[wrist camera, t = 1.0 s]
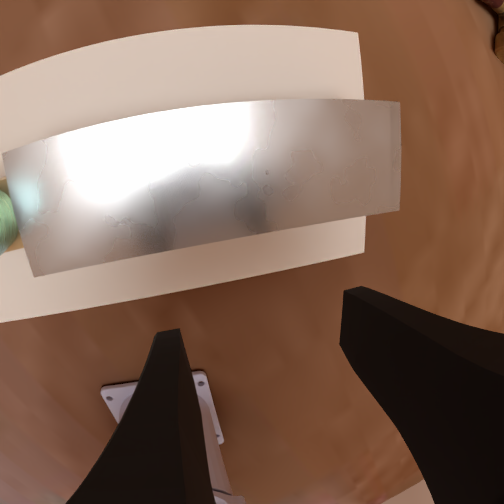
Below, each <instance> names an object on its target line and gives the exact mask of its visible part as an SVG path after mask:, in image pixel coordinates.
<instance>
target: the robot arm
mask: <svg viewBox="0 0 504 504" xmlns="http://www.w3.org/2000/svg"><path fill="white" fill-rule="evenodd" d="M339 344H340V346H341V348H342V350H343V352H344V354H345V356H346V358H347V359H348V361H349V363H350V365H351V366H352V368H353V370H354V371H355V373H356V374H357V375H358V377H359V378H360V379H361V381H362V382H363V383H364V385H365V386H366V387H367V389H368V390H369V391H370V393H371V394H372V395H373V397H374V398H375V399H376V400H377V402H378V403H379V404H380V406H381V407H382V408H383V410H384V411H385V412H386V414H387V415H388V416H389V418H390V419H391V420H392V422H393V423H394V425H395V426H396V428H397V429H398V431H399V432H400V434H401V436H402V437H403V439H404V441H405V443H406V444H407V446H408V448H409V450H410V452H411V453H412V455H413V457H414V459H415V461H416V463H417V465H418V467H419V469H420V471H421V473H422V475H423V477H424V480H425V481H426V484H427V486H428V489H429V491H430V493H431V495H432V498H433V501H434V503H435V504H504V334H502V333H497V332H493V331H488V330H484V329H480V328H476V327H473V326H469V325H465V324H462V323H459V322H456V321H453V320H450V319H447V318H444V317H441V316H438V315H436V314H433V313H430V312H428V311H425V310H423V309H420V308H417V307H415V306H412V305H410V304H407V303H405V302H403V301H400V300H398V299H395V298H393V297H390V296H388V295H385V294H383V293H380V292H377V291H375V290H372V289H369V288H366V287H363V286H360V287H356V288H352V289H348V290H345V291H344V294H343V308H342V321H341V333H340V343H339ZM200 381H203V382H201V383H199V382H200ZM101 395H102V397H103V399H104V401H105V402H106V404H107V406H108V408H109V409H110V411H111V413H112V414H113V416H114V418H115V419H116V421H117V423H118V426H117V428H116V430H115V432H114V433H113V435H112V437H111V439H110V440H109V442H108V444H107V446H106V447H105V449H104V451H103V452H102V454H101V455H100V457H99V458H98V460H97V462H96V463H95V465H94V466H93V468H92V469H91V471H90V472H89V474H88V475H87V477H86V478H85V479H84V481H83V482H82V484H81V485H80V486H79V488H78V489H77V490H76V491H75V493H74V494H73V495H72V496H71V498H70V499H69V500H68V501H67V502H66V504H246V502H245V499H244V496H233V493H232V490H231V487H230V483H229V480H228V476H227V473H226V469H225V466H224V462H223V458H222V455H221V451H220V447H219V444H222V443H223V442H224V438H223V435H222V431H221V428H220V424H219V421H218V417H217V414H216V410H215V407H214V403H213V399H212V396H211V392H210V388H209V384H208V380H207V377H206V374H205V372H203V371H196V372H191V368H190V365H189V361H188V358H187V354H186V351H185V347H184V343H183V340H182V336H181V332H180V328H179V329H173V330H168V331H163V332H157V334H156V335H155V336H154V339H153V343H152V346H151V349H150V352H149V355H148V358H147V361H146V363H145V366H144V369H143V371H142V374H141V376H140V378H139V381H138V382H133V383H126V384H119V385H111V386H104V387H102V388H101ZM108 396H110V397H108Z"/></svg>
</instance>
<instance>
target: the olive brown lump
mask: <svg viewBox="0 0 504 504" xmlns="http://www.w3.org/2000/svg"><path fill="white" fill-rule="evenodd" d="M481 1H482V2H484V3H485V4H487V5H488V6H490V7H491V8H492V9H493V10H494V11H495V12H496V13H497V14H498V15H499V29H498V32H499V33H498V34H497V35H496V37H495V54H496V56H497V57H498V58H499V59H500V60H501V62H502V63H503V64H504V0H481Z"/></svg>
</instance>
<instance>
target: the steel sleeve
mask: <svg viewBox="0 0 504 504" xmlns="http://www.w3.org/2000/svg"><path fill="white" fill-rule="evenodd" d="M2 157H3V163H4V169H5V174H6V179H7V184H8V189H9V193H10V198H11V202H12V206H13V210H14V214H15V218H16V222H17V225H18V229H19V232H20V236H21V239H22V243H23V246H24V249H25V252H26V255H27V259H28V262H29V265H30V267H31V270H32V273H33V276H34V278H35V277H39V276H44V275H49V274H54V273H59V272H64V271H69V270H74V269H78V268H83V267H88V266H93V265H98V264H103V263H109V262H114V261H119V260H124V259H129V258H134V257H139V256H144V255H150V254H155V253H160V252H165V251H171V250H176V249H181V248H186V247H192V246H197V245H203V244H208V243H213V242H219V241H224V240H230V239H235V238H241V237H246V236H252V235H257V234H263V233H269V232H274V231H280V230H286V229H291V228H297V227H303V226H309V225H314V224H320V223H326V222H332V221H338V220H344V219H350V218H356V217H362V216H368V215H374V214H380V213H386V212H392V211H398V210H399V207H400V184H401V119H400V102H392V101H377V100H357V99H282V100H262V101H247V102H235V103H224V104H215V105H206V106H198V107H190V108H183V109H176V110H169V111H163V112H157V113H151V114H146V115H140V116H135V117H130V118H125V119H120V120H115V121H111V122H106V123H102V124H98V125H94V126H90V127H86V128H82V129H78V130H74V131H70V132H67V133H63V134H60V135H56V136H53V137H49V138H46V139H43V140H39V141H36V142H33V143H30V144H27V145H24V146H21V147H18V148H15V149H12V150H10V151H7V152H4V153H2Z"/></svg>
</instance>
